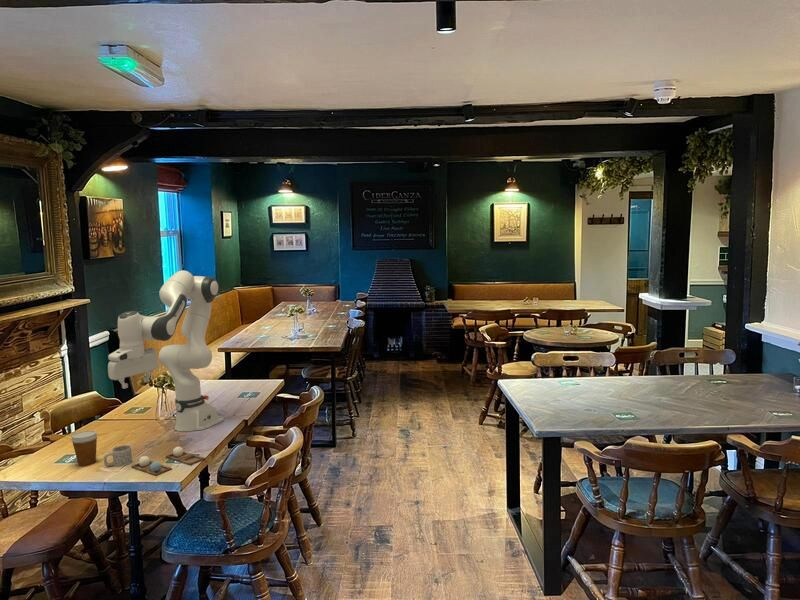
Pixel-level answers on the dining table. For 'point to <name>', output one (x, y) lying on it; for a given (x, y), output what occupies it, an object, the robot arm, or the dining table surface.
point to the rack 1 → (147, 470)
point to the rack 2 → (186, 458)
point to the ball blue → (155, 467)
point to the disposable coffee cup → (85, 447)
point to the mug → (119, 456)
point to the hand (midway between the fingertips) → (136, 385)
